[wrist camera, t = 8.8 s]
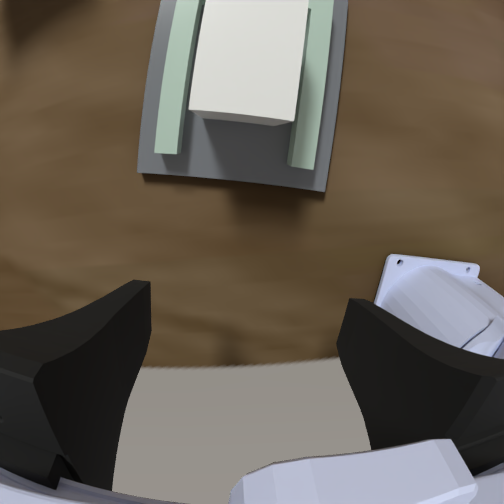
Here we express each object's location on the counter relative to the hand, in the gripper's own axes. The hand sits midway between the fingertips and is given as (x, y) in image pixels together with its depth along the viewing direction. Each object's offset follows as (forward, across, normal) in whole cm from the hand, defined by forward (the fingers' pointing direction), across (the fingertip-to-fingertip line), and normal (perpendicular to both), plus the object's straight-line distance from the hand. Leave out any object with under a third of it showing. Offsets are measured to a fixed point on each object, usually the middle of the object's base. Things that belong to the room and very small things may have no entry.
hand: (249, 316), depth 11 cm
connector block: (+9, +1, -10) cm, 13 cm away
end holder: (+9, +1, -10) cm, 14 cm away
